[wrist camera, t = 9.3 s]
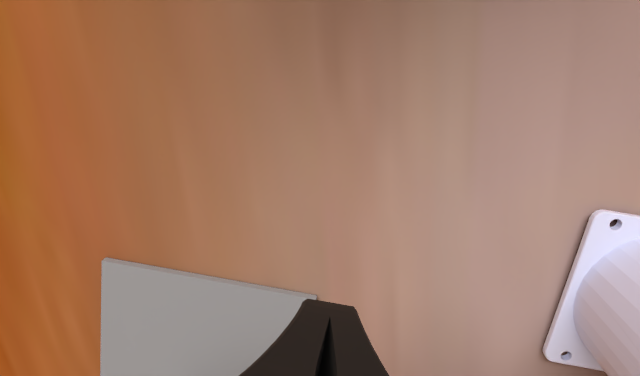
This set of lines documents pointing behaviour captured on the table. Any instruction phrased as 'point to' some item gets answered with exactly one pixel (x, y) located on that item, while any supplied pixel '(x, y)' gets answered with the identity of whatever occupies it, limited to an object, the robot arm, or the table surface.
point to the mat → (186, 321)
